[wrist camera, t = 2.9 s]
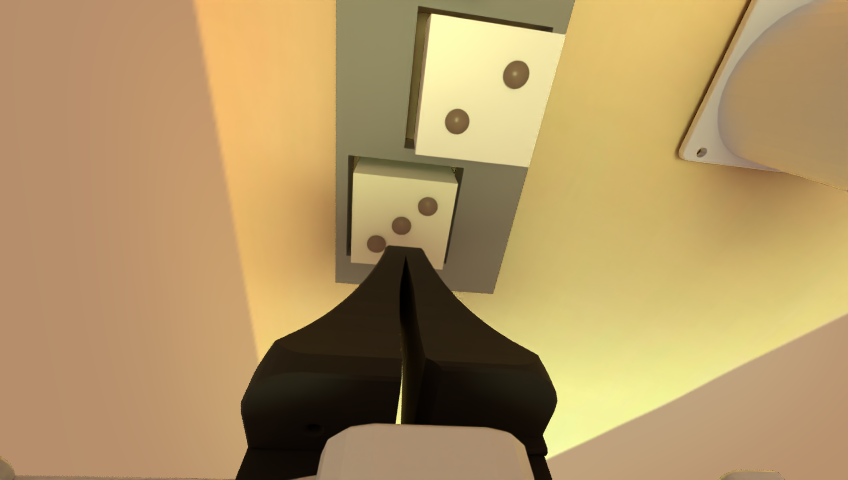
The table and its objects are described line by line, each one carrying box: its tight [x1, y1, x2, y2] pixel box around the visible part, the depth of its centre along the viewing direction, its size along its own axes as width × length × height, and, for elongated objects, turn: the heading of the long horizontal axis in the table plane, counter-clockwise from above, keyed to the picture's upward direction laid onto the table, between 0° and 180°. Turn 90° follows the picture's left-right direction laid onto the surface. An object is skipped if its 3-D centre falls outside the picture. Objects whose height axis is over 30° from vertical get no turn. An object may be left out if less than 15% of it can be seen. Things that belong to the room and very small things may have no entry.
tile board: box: [336, 0, 575, 294], centre depth 15 cm, size 9×21×2 cm, turn 173°
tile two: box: [414, 14, 566, 167], centre depth 13 cm, size 5×5×3 cm
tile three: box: [351, 156, 458, 270], centre depth 17 cm, size 5×5×3 cm
